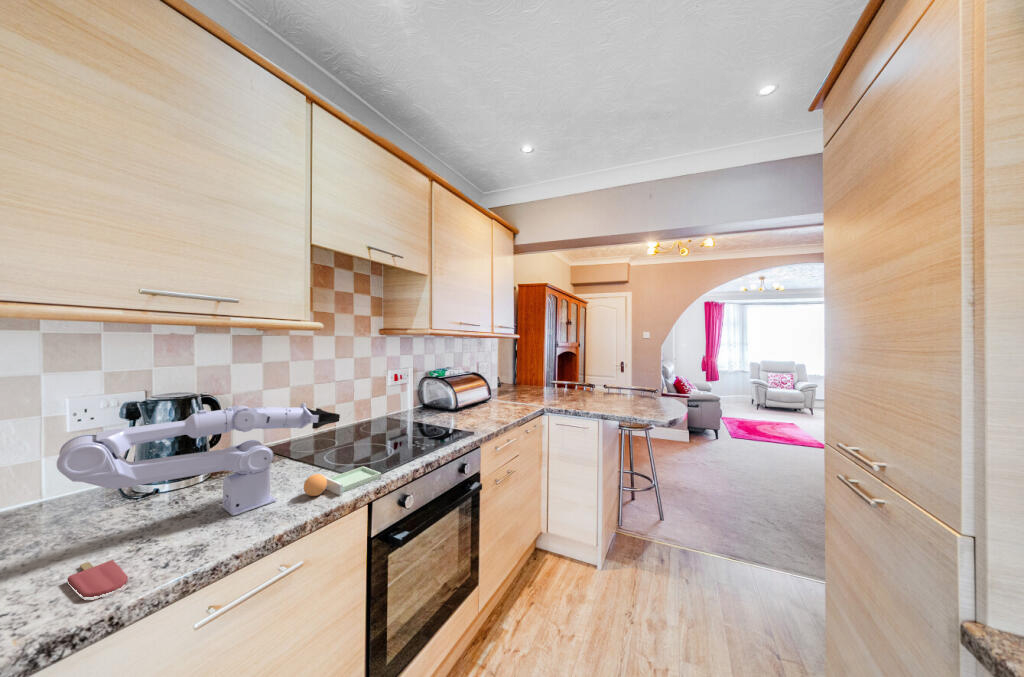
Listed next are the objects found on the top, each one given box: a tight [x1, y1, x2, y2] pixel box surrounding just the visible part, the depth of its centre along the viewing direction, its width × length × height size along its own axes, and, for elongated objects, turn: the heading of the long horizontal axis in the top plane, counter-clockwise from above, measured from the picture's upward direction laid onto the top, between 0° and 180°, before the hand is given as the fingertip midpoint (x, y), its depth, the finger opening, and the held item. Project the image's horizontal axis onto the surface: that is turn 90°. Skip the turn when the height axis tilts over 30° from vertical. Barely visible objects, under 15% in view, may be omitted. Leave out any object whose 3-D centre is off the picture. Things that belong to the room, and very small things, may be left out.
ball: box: [303, 473, 327, 497], centre depth 93 cm, size 6×6×6 cm
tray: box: [329, 466, 382, 493], centre depth 103 cm, size 12×9×2 cm
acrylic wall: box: [323, 475, 344, 496], centre depth 97 cm, size 1×12×3 cm, turn 57°
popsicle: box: [67, 559, 128, 597], centre depth 60 cm, size 5×2×15 cm
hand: (333, 417), depth 104 cm, fingers open, 7 cm apart
